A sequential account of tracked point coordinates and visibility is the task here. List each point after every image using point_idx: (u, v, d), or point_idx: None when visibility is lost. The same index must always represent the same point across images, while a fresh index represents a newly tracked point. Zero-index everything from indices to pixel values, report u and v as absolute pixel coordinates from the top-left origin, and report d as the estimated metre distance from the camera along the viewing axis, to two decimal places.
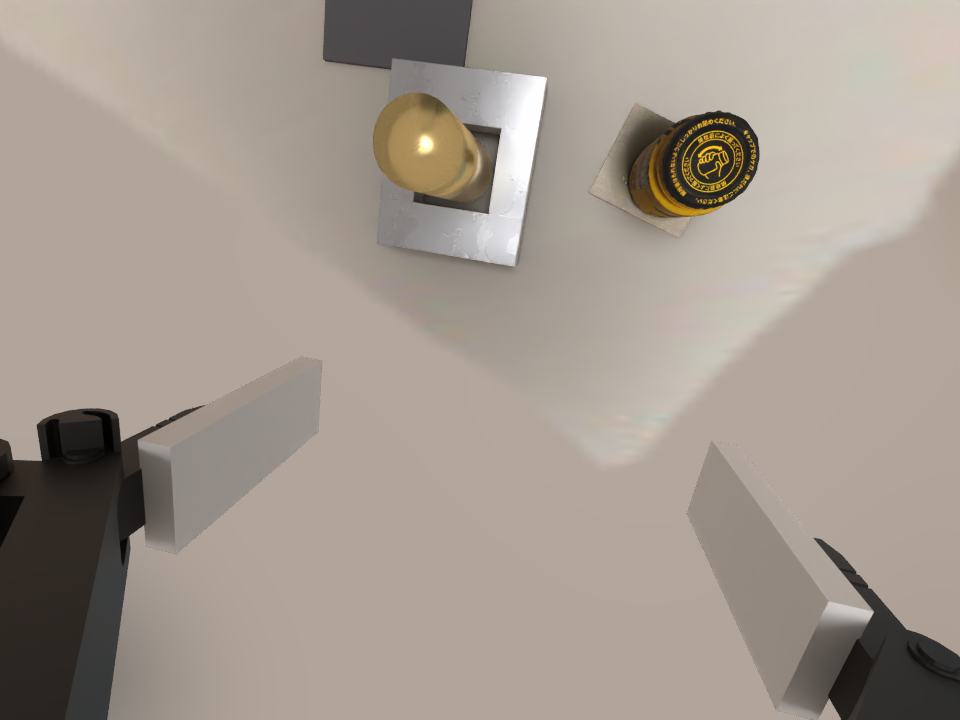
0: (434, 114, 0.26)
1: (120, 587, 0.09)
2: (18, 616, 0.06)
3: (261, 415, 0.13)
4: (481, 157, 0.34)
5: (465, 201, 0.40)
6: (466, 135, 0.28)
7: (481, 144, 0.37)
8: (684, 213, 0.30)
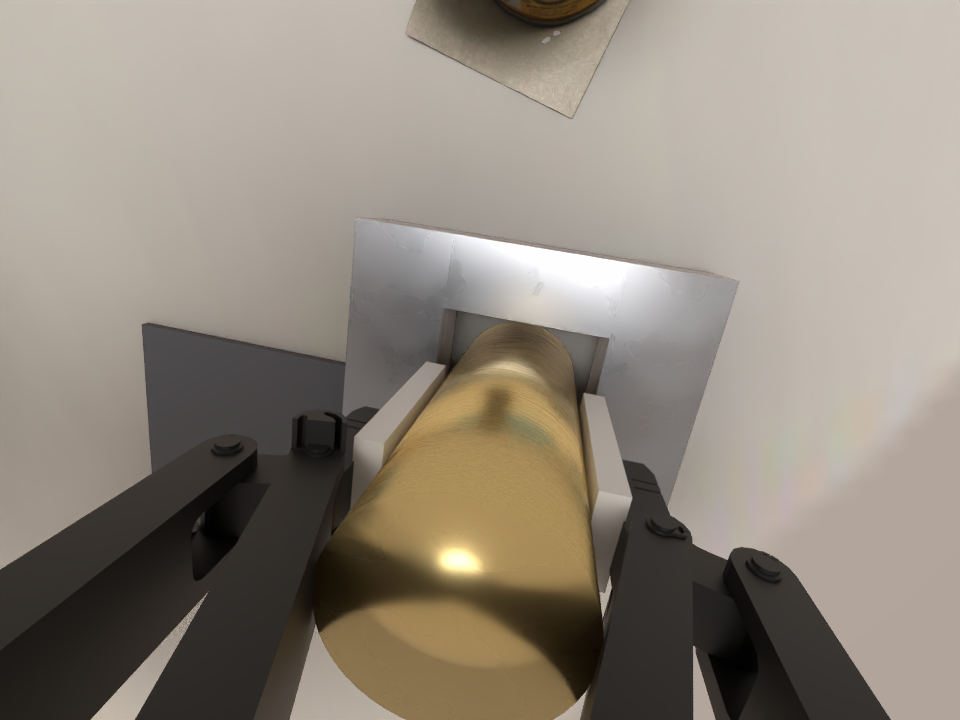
0: (368, 562, 0.08)
1: None
2: (248, 587, 0.07)
3: (418, 414, 0.14)
4: (496, 359, 0.15)
5: None
6: (439, 431, 0.10)
7: (472, 346, 0.19)
8: None
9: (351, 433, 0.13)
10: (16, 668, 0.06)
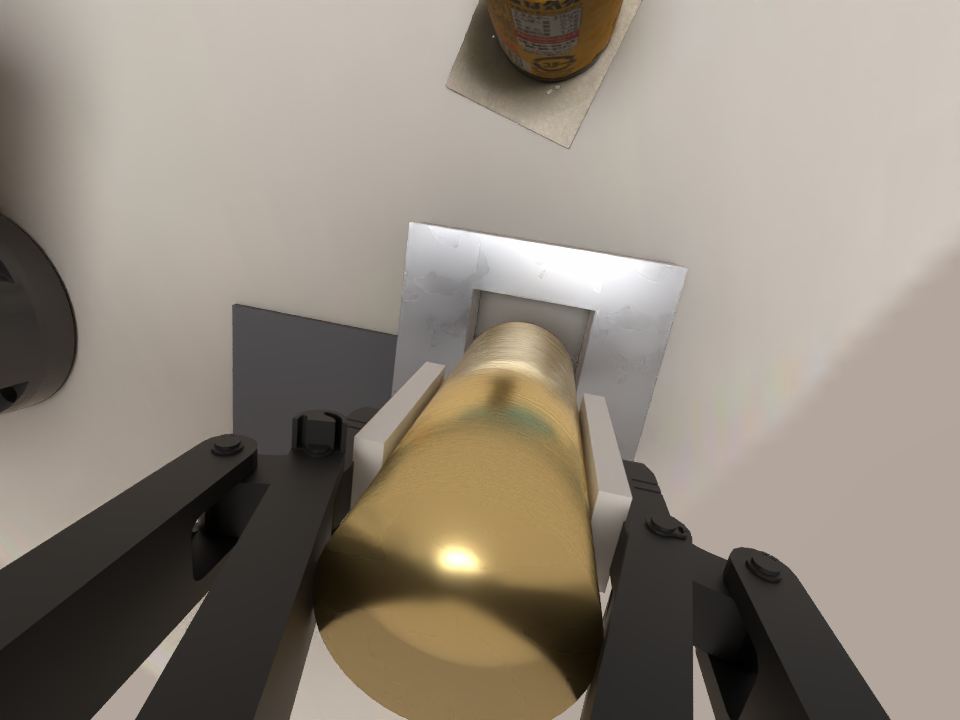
0: (368, 562, 0.08)
1: None
2: (248, 587, 0.07)
3: (418, 415, 0.14)
4: (496, 359, 0.15)
5: (574, 379, 0.20)
6: (440, 430, 0.10)
7: (472, 346, 0.19)
8: None
9: (351, 433, 0.13)
10: (16, 668, 0.06)
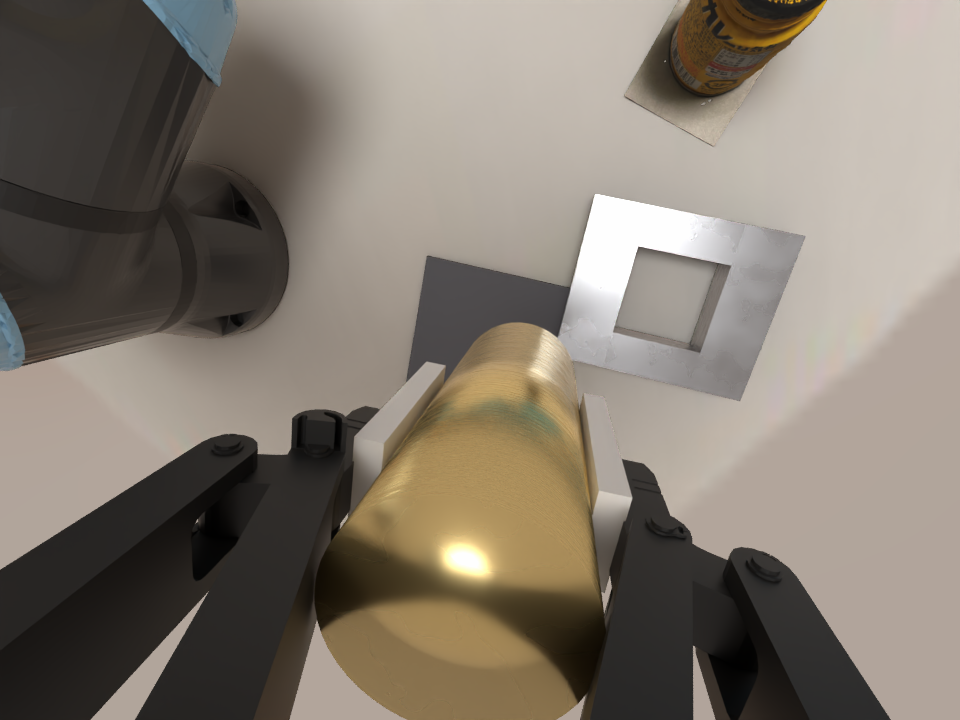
0: (370, 563, 0.08)
1: None
2: (248, 587, 0.07)
3: (418, 415, 0.14)
4: (497, 360, 0.15)
5: None
6: (441, 432, 0.10)
7: (473, 346, 0.19)
8: None
9: (351, 433, 0.13)
10: (16, 668, 0.06)
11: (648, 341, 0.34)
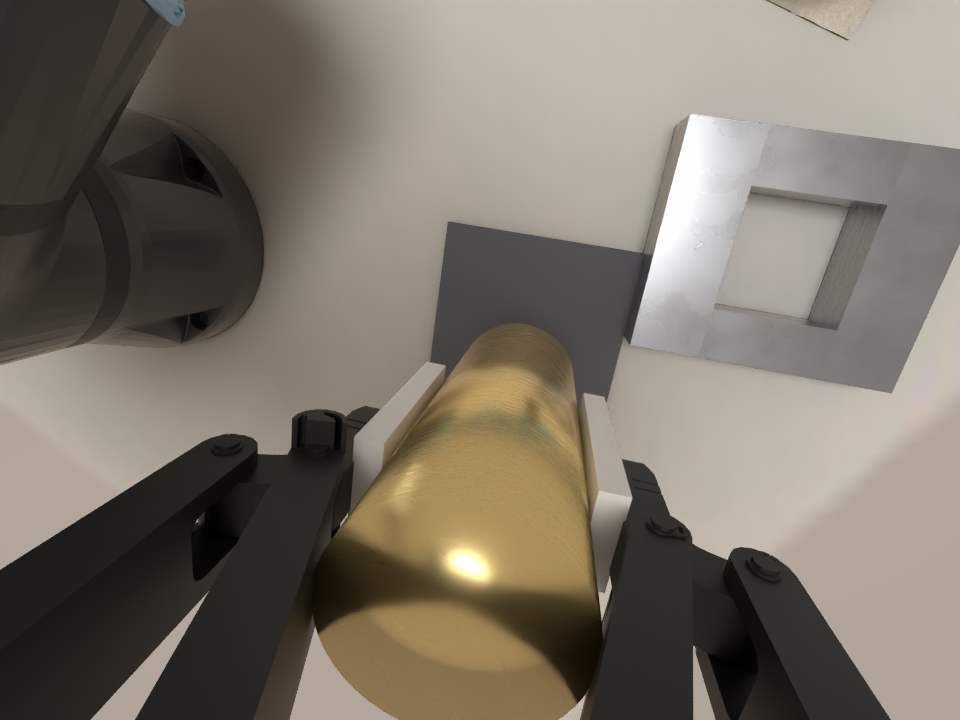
0: (367, 566, 0.08)
1: None
2: (249, 587, 0.07)
3: (418, 414, 0.14)
4: (496, 361, 0.15)
5: None
6: (439, 434, 0.10)
7: (471, 347, 0.19)
8: None
9: (351, 433, 0.13)
10: (16, 668, 0.06)
11: (763, 318, 0.25)
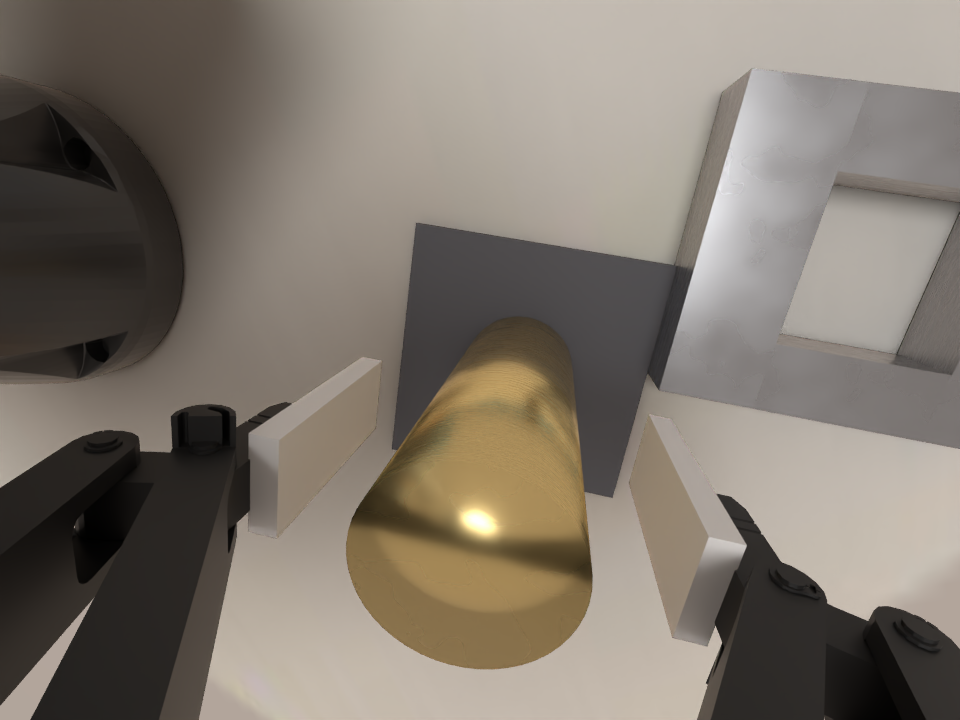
0: (394, 519, 0.10)
1: (224, 573, 0.09)
2: (138, 593, 0.06)
3: (339, 411, 0.14)
4: (500, 351, 0.16)
5: None
6: (452, 412, 0.11)
7: (477, 339, 0.20)
8: None
9: None
10: None
11: (846, 357, 0.18)
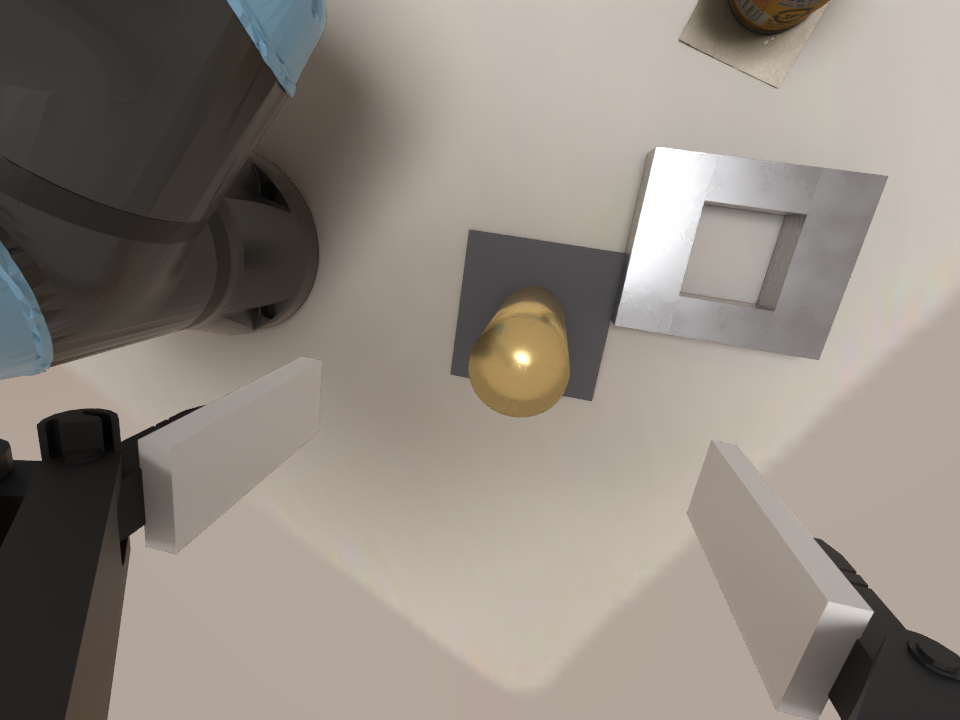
0: (490, 348, 0.24)
1: (120, 587, 0.09)
2: (18, 616, 0.06)
3: (261, 414, 0.13)
4: (525, 297, 0.30)
5: None
6: (508, 313, 0.26)
7: (508, 297, 0.35)
8: None
9: None
10: None
11: (717, 303, 0.32)
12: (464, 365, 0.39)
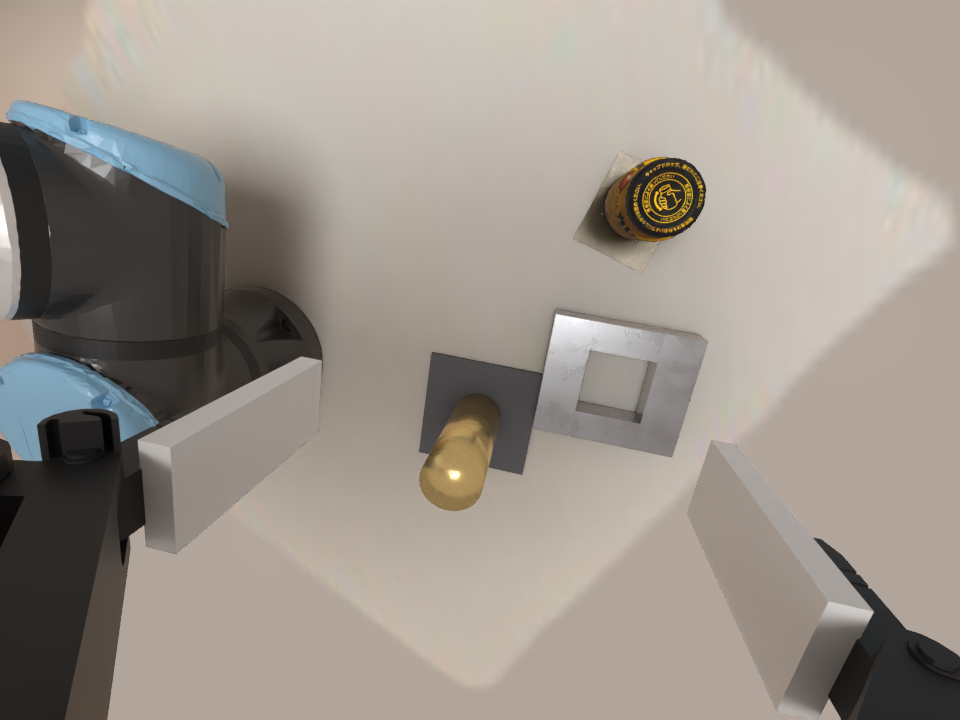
0: (432, 469, 0.37)
1: (120, 587, 0.09)
2: (19, 616, 0.06)
3: (261, 414, 0.13)
4: (465, 415, 0.44)
5: (499, 417, 0.49)
6: (447, 440, 0.39)
7: (458, 405, 0.48)
8: None
9: None
10: None
11: (602, 416, 0.46)
12: (429, 446, 0.53)
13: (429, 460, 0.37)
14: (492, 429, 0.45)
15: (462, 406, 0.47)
